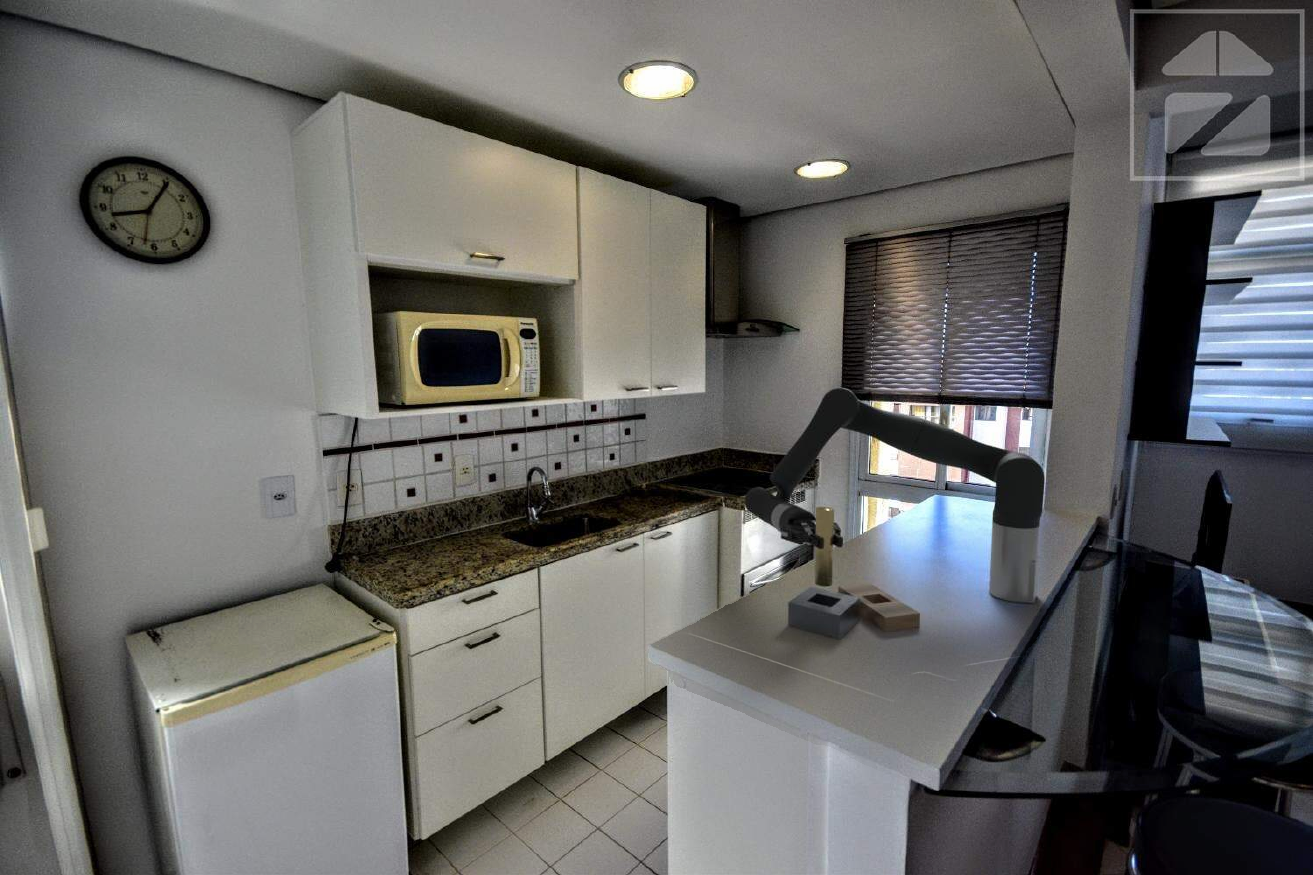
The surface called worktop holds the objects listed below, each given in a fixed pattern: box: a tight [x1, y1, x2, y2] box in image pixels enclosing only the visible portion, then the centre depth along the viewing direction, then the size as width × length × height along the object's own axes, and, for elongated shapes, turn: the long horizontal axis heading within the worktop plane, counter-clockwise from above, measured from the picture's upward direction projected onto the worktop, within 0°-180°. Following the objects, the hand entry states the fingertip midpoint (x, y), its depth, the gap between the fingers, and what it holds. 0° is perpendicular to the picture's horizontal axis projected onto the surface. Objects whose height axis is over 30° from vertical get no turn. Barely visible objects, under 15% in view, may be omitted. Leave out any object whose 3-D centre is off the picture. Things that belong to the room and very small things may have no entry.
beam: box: [837, 582, 921, 633], centre depth 126 cm, size 18×8×3 cm, turn 13°
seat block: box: [787, 586, 860, 641], centre depth 121 cm, size 11×11×5 cm
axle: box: [814, 506, 835, 587], centre depth 119 cm, size 4×4×16 cm
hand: (831, 543), depth 117 cm, fingers closed on axle, 3 cm apart
